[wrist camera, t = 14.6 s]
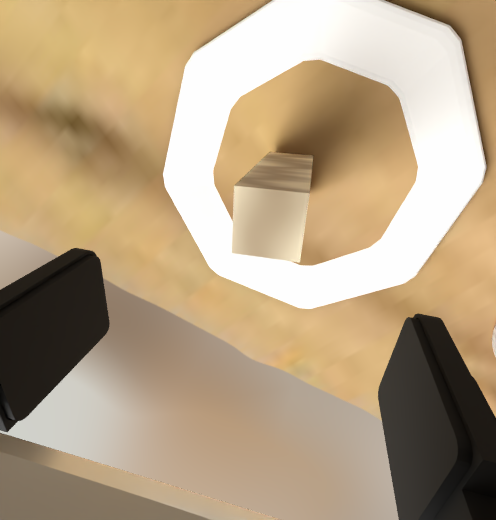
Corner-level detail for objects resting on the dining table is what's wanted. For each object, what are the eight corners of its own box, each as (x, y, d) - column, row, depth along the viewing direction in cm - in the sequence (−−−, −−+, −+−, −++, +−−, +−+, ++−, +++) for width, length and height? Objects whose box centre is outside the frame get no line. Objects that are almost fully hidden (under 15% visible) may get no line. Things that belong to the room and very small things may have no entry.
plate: (369, 329, 37) (371, 338, 36) (153, 241, 38) (147, 246, 36) (551, 71, 24) (565, 68, 23) (217, -58, 25) (211, -67, 23)
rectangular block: (313, 155, 29) (309, 193, 16) (307, 198, 30) (299, 262, 18) (269, 151, 29) (234, 185, 17) (266, 194, 31) (231, 253, 19)
